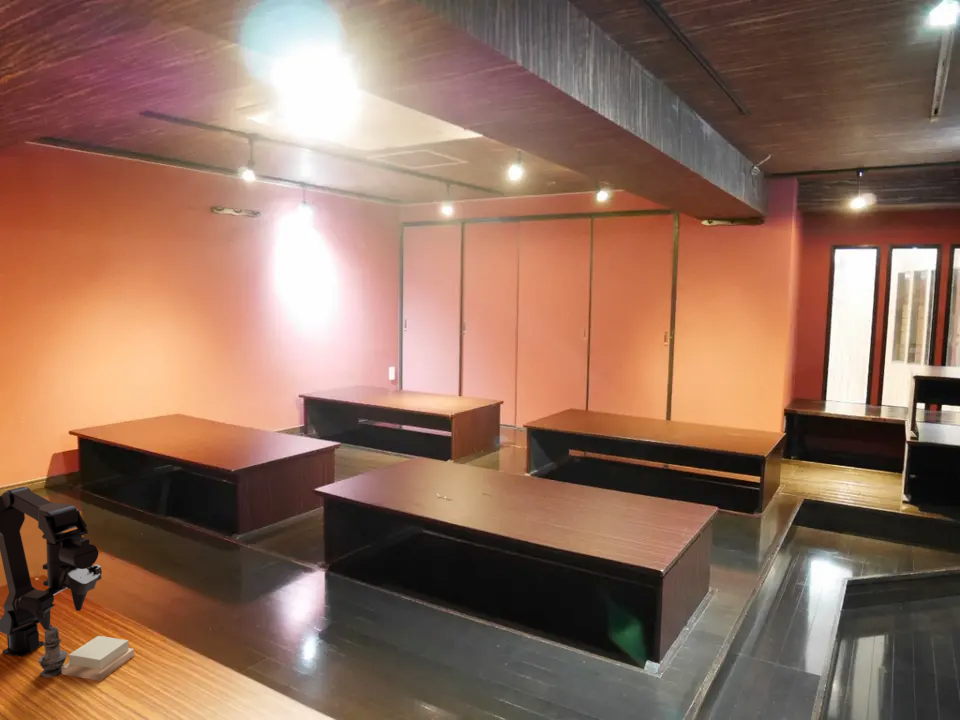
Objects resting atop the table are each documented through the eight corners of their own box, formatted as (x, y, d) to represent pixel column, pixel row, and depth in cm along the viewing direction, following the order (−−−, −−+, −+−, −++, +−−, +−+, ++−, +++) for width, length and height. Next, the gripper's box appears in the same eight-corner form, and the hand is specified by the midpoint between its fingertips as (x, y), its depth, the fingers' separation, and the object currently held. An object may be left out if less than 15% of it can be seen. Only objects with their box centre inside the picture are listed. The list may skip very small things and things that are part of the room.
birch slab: (61, 676, 154) (61, 666, 154) (97, 652, 165) (97, 643, 165) (100, 683, 152) (100, 673, 152) (134, 658, 163) (134, 648, 163)
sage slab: (69, 664, 155) (68, 654, 155) (98, 644, 164) (98, 635, 164) (100, 669, 153) (100, 660, 153) (128, 649, 162) (128, 640, 162)
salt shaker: (53, 679, 152) (50, 632, 151) (33, 676, 153) (30, 629, 152) (73, 666, 158) (71, 619, 157) (54, 662, 159) (51, 617, 158)
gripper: (57, 579, 143) (59, 645, 144) (119, 547, 161) (120, 605, 163) (15, 573, 145) (18, 638, 146) (81, 542, 163) (82, 600, 165)
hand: (63, 619), depth 155 cm, fingers open, 9 cm apart
